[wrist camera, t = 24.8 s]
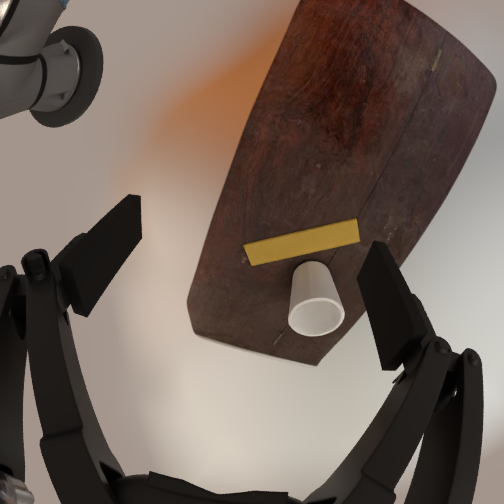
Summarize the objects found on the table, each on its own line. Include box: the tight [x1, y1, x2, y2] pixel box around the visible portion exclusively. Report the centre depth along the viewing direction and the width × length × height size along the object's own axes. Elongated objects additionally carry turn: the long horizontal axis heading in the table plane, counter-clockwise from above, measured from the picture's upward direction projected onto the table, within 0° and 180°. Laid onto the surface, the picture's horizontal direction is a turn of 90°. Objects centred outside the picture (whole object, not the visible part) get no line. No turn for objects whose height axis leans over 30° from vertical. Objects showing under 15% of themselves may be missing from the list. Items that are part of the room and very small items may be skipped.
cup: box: [288, 260, 344, 336], centre depth 51 cm, size 10×10×13 cm
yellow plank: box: [244, 218, 360, 266], centre depth 52 cm, size 22×5×1 cm, turn 108°
